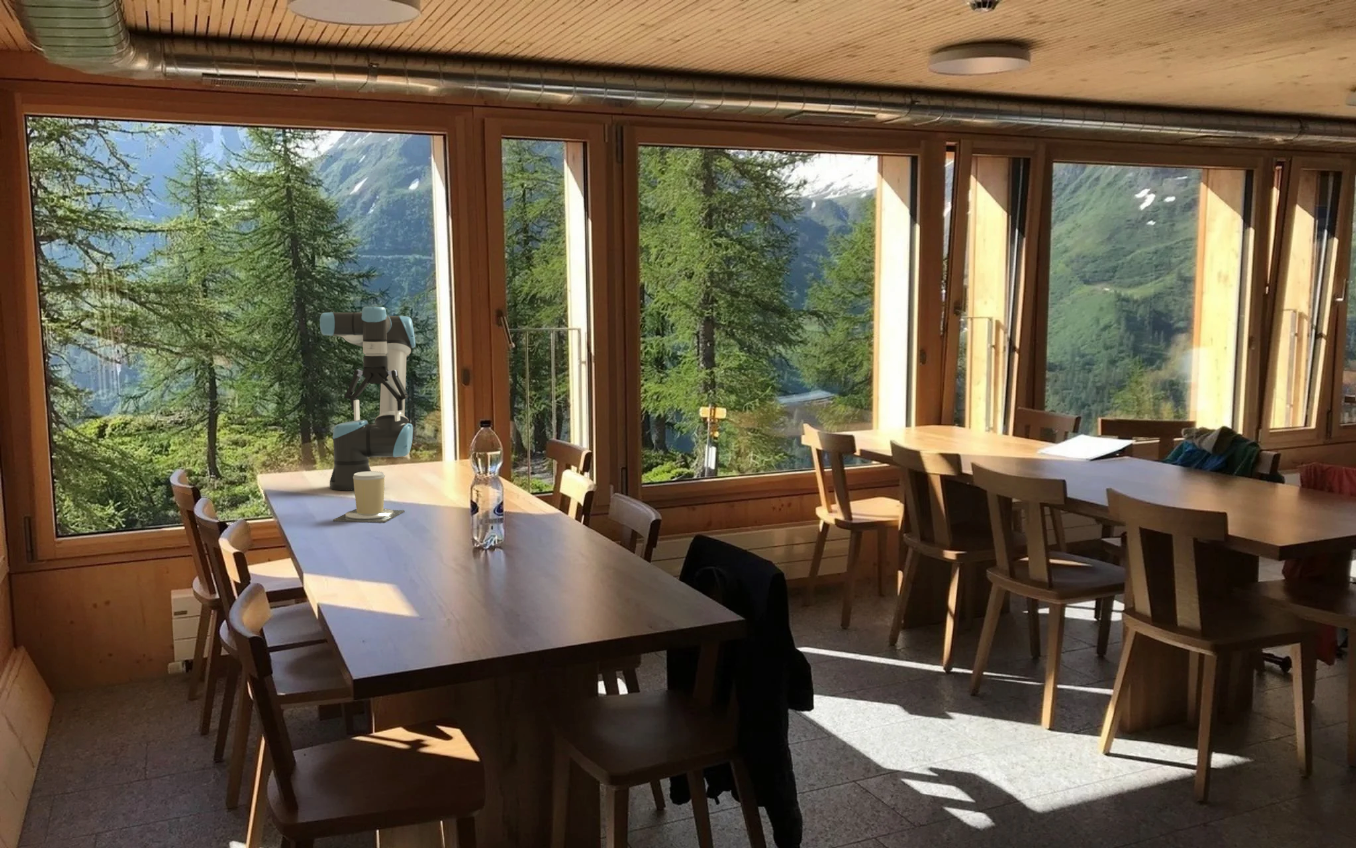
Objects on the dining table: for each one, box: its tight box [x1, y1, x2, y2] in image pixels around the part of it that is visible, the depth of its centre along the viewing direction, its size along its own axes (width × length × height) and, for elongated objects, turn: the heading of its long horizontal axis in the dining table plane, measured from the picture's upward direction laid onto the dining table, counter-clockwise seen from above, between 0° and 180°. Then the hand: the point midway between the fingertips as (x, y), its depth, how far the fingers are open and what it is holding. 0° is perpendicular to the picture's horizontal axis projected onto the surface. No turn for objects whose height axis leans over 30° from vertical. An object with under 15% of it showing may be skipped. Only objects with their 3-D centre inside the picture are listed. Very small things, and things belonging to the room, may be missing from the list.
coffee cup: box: [353, 470, 386, 515], centre depth 318 cm, size 9×9×12 cm
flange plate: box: [332, 507, 406, 524], centre depth 319 cm, size 16×16×1 cm
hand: (377, 420), depth 339 cm, fingers open, 13 cm apart
